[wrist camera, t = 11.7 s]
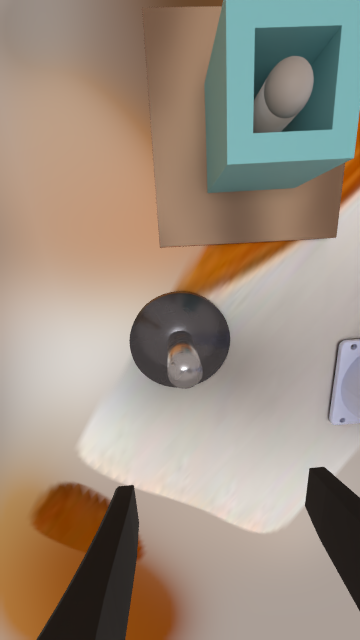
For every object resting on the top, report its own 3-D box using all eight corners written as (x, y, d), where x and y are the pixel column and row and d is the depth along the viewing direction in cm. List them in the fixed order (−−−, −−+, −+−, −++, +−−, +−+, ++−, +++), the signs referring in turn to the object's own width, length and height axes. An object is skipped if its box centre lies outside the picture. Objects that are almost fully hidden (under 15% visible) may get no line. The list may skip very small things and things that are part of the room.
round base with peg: (227, 288, 18) (253, 303, 13) (227, 378, 20) (249, 423, 15) (125, 294, 18) (108, 312, 12) (136, 385, 20) (125, 434, 14)
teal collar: (301, 79, 14) (374, -14, 9) (294, 188, 15) (353, 158, 10) (204, 83, 13) (225, -11, 9) (207, 193, 15) (227, 164, 10)
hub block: (347, 24, 14) (492, -158, 8) (324, 238, 17) (414, 230, 11) (144, 28, 14) (125, -164, 7) (160, 247, 17) (157, 244, 11)
